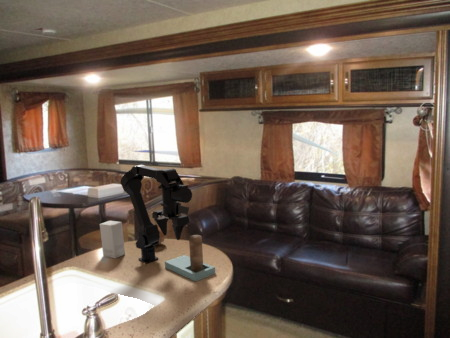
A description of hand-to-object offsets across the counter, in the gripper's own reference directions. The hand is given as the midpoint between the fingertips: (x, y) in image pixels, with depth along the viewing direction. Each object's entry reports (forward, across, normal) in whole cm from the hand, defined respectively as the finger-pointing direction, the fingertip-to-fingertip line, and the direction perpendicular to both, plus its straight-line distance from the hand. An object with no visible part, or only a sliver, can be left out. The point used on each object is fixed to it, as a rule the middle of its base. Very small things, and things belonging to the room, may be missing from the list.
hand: (171, 237), depth 146 cm
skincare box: (+13, +33, +10) cm, 37 cm away
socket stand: (+13, -7, -3) cm, 15 cm away
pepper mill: (+13, -12, -3) cm, 18 cm away
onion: (+13, +30, -11) cm, 35 cm away
